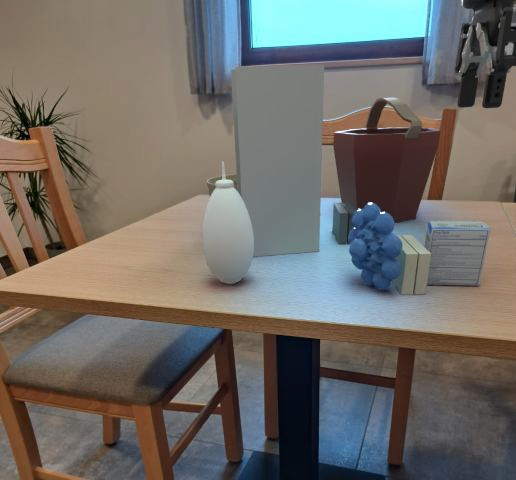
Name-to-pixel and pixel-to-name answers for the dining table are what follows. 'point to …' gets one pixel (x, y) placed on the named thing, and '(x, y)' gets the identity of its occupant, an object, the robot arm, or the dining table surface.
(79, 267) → the dining table surface
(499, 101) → the robot arm
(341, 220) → the grey booklets
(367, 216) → the grapes
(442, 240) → the medicine box
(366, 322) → the dining table surface
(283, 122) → the tall grey box
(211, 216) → the white air blower bulb
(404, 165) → the bucket
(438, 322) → the dining table surface
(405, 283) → the cream booklets
